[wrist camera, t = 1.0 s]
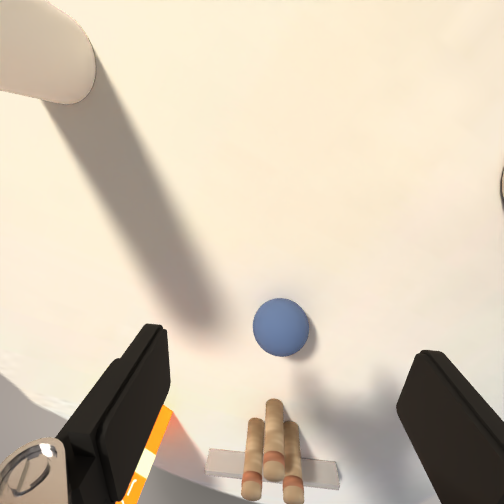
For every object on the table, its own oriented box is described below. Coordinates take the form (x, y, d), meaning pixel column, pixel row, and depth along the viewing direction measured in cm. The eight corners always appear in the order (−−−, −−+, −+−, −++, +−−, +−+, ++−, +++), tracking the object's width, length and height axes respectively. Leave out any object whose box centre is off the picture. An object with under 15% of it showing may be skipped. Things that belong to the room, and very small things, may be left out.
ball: (308, 289, 29) (315, 322, 23) (303, 332, 31) (309, 372, 25) (255, 286, 29) (250, 318, 24) (254, 329, 31) (250, 367, 26)
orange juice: (173, 411, 39) (79, 652, 20) (141, 435, 41) (33, 664, 23) (132, 382, 37) (-12, 614, 18) (102, 409, 40) (-49, 633, 21)
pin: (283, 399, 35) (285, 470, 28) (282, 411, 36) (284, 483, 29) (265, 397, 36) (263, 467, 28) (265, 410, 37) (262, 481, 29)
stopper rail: (335, 462, 39) (339, 485, 37) (334, 466, 40) (338, 490, 37) (209, 448, 41) (204, 470, 38) (210, 453, 41) (205, 475, 39)
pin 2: (299, 421, 37) (305, 495, 29) (297, 433, 38) (303, 507, 30) (282, 420, 37) (283, 492, 29) (281, 431, 38) (282, 504, 30)
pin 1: (265, 418, 37) (262, 490, 29) (264, 429, 38) (261, 502, 30) (248, 416, 37) (240, 487, 30) (248, 428, 38) (240, 499, 31)
